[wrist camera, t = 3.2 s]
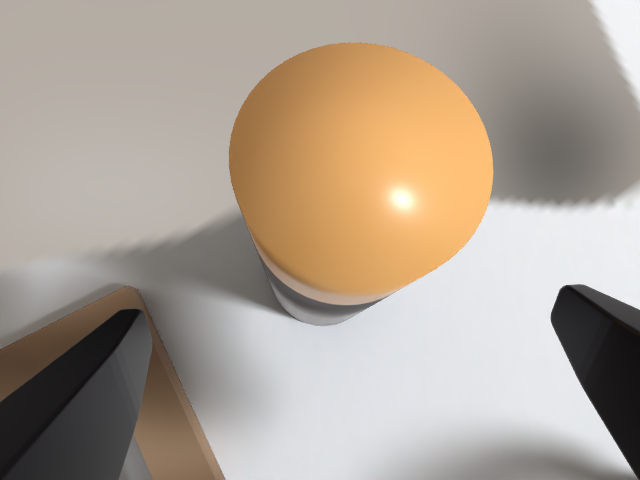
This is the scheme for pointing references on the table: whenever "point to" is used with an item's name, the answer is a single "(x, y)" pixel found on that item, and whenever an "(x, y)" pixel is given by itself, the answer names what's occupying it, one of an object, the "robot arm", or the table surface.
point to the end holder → (157, 402)
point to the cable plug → (357, 176)
